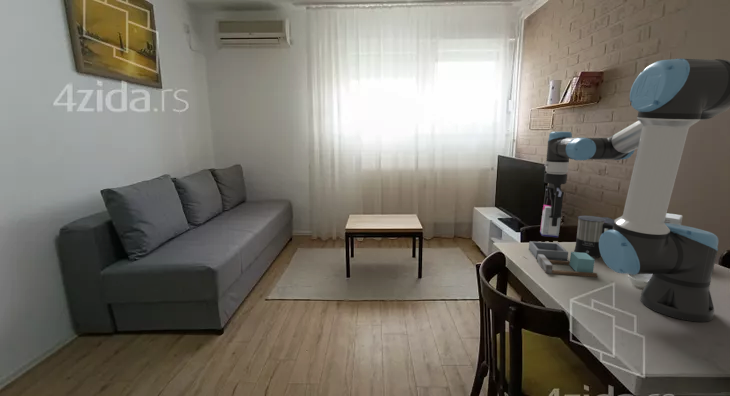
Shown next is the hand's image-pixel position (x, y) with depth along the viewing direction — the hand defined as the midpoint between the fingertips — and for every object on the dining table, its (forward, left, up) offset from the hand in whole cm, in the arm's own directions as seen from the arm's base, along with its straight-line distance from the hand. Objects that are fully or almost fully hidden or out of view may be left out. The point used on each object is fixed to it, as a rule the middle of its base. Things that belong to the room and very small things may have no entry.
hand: (549, 231), depth 135 cm
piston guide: (-14, -2, -10) cm, 17 cm away
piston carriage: (-14, -7, -10) cm, 19 cm away
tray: (0, 0, -10) cm, 10 cm away
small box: (+22, -30, -10) cm, 38 cm away
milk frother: (+8, -19, -10) cm, 23 cm away
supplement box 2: (+8, -43, -10) cm, 45 cm away
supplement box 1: (0, 0, -2) cm, 2 cm away
